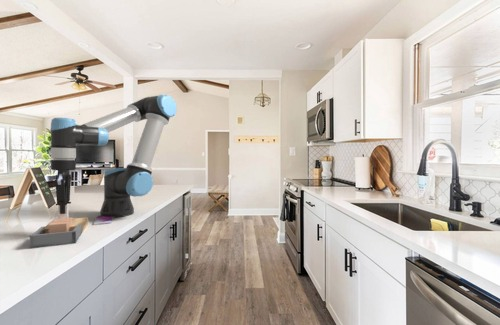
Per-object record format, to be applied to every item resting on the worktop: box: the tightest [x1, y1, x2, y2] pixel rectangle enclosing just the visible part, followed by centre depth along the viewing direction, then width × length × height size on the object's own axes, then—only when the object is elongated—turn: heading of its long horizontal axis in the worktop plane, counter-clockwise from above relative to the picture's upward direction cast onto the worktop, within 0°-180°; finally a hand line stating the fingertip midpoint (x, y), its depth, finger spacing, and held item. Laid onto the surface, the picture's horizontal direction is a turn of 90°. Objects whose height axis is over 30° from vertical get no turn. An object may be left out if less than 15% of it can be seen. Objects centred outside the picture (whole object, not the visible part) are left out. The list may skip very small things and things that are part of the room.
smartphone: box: [92, 216, 114, 226], centre depth 113 cm, size 7×1×15 cm
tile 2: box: [52, 217, 73, 228], centre depth 90 cm, size 5×5×3 cm
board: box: [44, 216, 89, 234], centre depth 97 cm, size 12×14×3 cm
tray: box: [29, 223, 83, 249], centre depth 86 cm, size 12×11×4 cm
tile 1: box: [48, 221, 69, 233], centre depth 87 cm, size 5×5×3 cm
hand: (63, 221), depth 93 cm, fingers closed
